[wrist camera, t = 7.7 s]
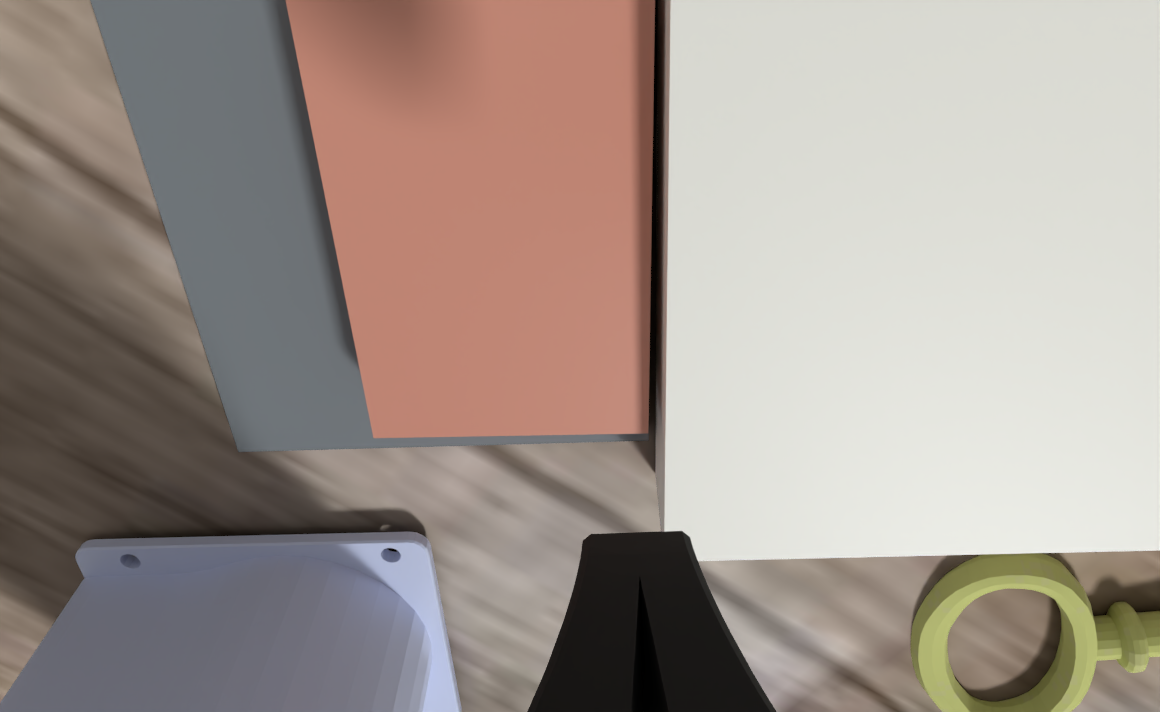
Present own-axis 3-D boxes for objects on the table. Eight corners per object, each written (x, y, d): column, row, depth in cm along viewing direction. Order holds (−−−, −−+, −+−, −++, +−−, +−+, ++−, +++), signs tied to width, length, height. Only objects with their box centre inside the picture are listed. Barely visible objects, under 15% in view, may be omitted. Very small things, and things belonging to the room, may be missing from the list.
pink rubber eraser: (387, 398, 20) (373, 437, 19) (310, -19, 15) (284, -4, 14) (644, 394, 20) (648, 433, 18) (650, -29, 15) (655, -15, 14)
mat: (245, 439, 21) (238, 451, 21) (71, -109, 15) (55, -106, 14) (647, 428, 21) (648, 440, 20) (646, -137, 14) (647, -137, 14)
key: (1373, 577, 24) (1436, 639, 22) (948, 719, 28) (972, 782, 26) (1333, 399, 21) (1403, 453, 19) (859, 586, 24) (880, 647, 23)
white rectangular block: (655, 474, 22) (664, 561, 19) (659, -246, 14) (674, -262, 11) (1095, 463, 21) (1164, 550, 19) (1362, -284, 13) (1545, -310, 11)
